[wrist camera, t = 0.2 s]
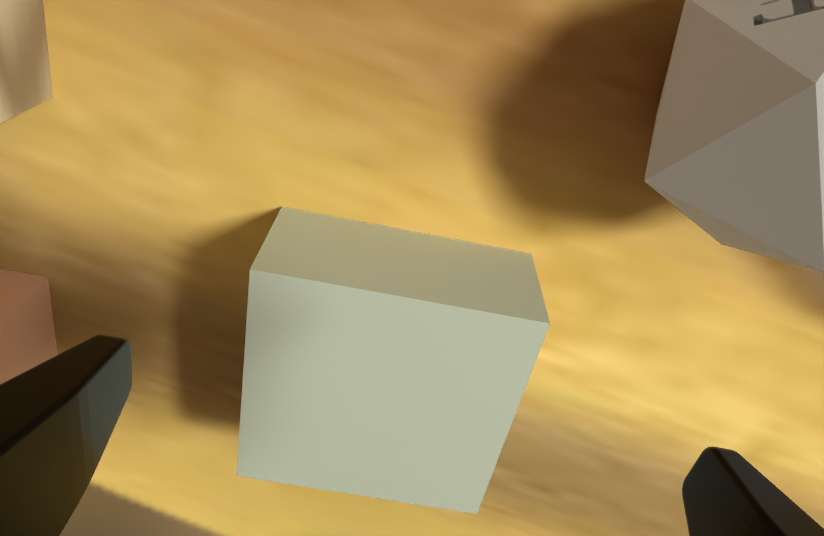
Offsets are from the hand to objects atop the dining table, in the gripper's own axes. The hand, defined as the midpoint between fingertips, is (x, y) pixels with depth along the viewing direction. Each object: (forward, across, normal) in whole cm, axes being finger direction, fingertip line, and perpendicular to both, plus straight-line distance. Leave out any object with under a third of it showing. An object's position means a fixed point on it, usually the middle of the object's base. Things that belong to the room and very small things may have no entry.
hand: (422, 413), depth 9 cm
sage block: (+15, 0, +9) cm, 17 cm away
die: (+15, -10, -4) cm, 18 cm away
